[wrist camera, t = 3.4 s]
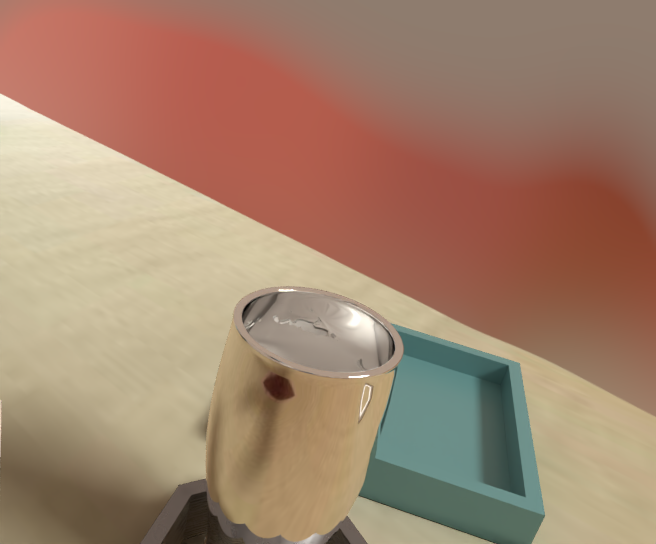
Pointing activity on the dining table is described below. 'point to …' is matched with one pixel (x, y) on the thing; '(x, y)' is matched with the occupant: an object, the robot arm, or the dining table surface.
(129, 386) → the dining table surface
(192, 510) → the holder ring
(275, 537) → the silver metal tumbler
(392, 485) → the tray
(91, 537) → the dining table surface
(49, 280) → the dining table surface
